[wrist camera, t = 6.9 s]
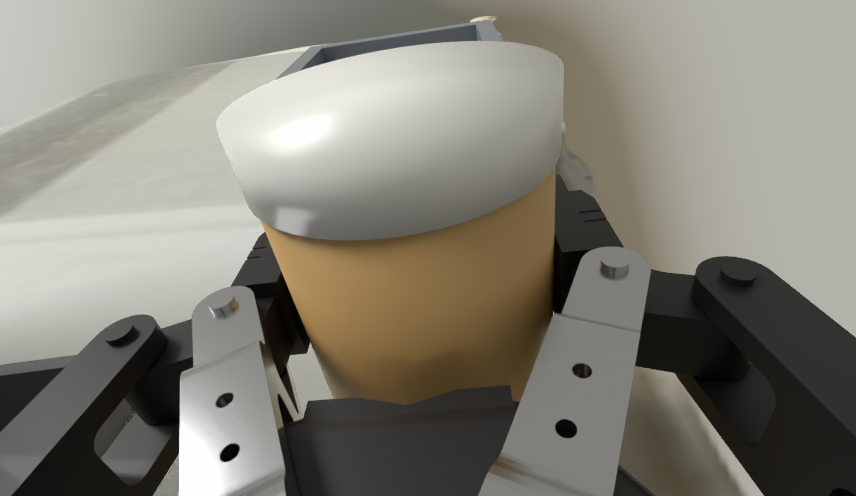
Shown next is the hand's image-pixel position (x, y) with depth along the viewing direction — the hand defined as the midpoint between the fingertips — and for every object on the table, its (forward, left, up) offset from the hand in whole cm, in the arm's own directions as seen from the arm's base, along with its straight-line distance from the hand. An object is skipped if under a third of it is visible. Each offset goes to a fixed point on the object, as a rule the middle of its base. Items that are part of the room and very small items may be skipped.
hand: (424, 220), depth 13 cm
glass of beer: (0, -2, -7) cm, 7 cm away
